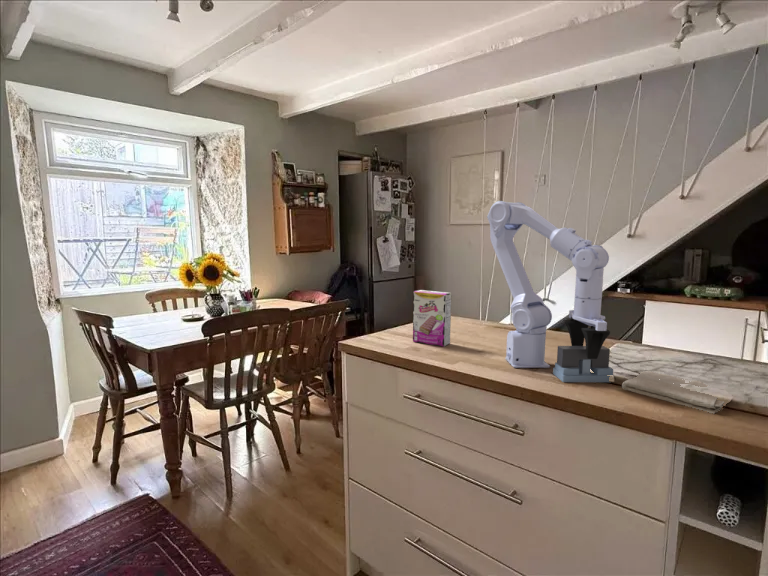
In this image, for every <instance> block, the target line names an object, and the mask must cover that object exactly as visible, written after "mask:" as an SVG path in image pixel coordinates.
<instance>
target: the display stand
mask: <svg viewBox="0 0 768 576" xmlns="http://www.w3.org/2000/svg"><path fill="white" fill-rule="evenodd" d="M590 365H591V360H579V368H562V367H560V366H559V365H558V364H557V361H556V362H555V363H554V367H553V368H552V374H553V375H554V376H555V377H556V378H557V379H559V381H561V382H562V383H610V382H609V377H610V376H607V375H614V368H613V367H611V366H609V368H591V367H590ZM590 369H591V370H592V371H593V372H594V373H591V372H590Z"/></svg>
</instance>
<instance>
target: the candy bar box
mask: <svg viewBox="0 0 768 576" xmlns="http://www.w3.org/2000/svg"><path fill="white" fill-rule="evenodd" d="M412 301H413V302H412V303H413V309H412V311H413V312H412V314H413V315H412V316H413V317H412V342H413V343H414V342H415V343H421V344H424V345H425V344H426V345H433V346H438V347H446V346H448V345H450V344H451V325H452V324H451V323H452V322H451V320H452V317H451V316H452V293H451V292H447V291H435V290H425V289H418V290H414V291H413V300H412Z"/></svg>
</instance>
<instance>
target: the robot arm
mask: <svg viewBox="0 0 768 576" xmlns="http://www.w3.org/2000/svg"><path fill="white" fill-rule="evenodd" d="M486 219H487V221H488V223H489V231H490V232H489V235H490V236H489V237H490V243H491V245H492V248H493V251H494V253H495V255H496V258H497V260H498V262H499V265H500V268H501V270H502V272H503V275H504V278H505V280H506V284H507V286H508V288H509V290H510V293H511V296H512V299H513V300H512V302H511V304H510V307H509V308H510V310H511V314H512V315H511V321H512V324H513V327H514V328H515V329H516V330H510V331H507V336H506V350H505V351H506V353H505V354H506V355H505V360H506V361H507V362H508V363H509V365H511V367H513V368H521V369H522V368H523V369H524V368H525V369H526V368H527V369H528V368H531V369H532V368H533V369H534V368H539V369H540V368H543V369H544V368H545V369H546V368H551V365H550V364H548V363H547V361H545V359H546V357H545V356H546V354H545V353H546V338H547V337H546V336H547V329H548V328H547V326H549V325H550V324H551V322H552V319H553V314H552V310H551V309H550V308H549V307H548V306H547V305H546V304H545V302H544V301H543V299H542V297H540V296H539V295H538V294H537V293H536V292H535V291H534V289H533V287H532V284H531V281H530V279H529V277H528V274H527V272H526V269H525V267H524V265H523V262H522V260H521V257H520V254H519V253H518V250H517V247H516V245H515V243H514V238H515V235H516V234H517V233H518V231H519V230H520V229H521V227H522V226H524V225H526V226H527V227H529V228H531V229H532V230H533V231H535V232H537V233H538V234H539V235H541V236H543V237H545V238H547V239H548V240H549V244H550V248H552V249H554V250H555V251H556V252H558V253H559V254H561V255H562V256H564V257H565V258H567V259H568V260H569V261H571V264H572V266H573V267H574V269H575V272H576V273H575V284H574V285H575V290H574V302H573V306H574V307H573V310H571V309H569V310H568V311H569V313H568V319H567V320H566V319H565V320H564V324H565V326H566V328H567V332H568V334H569V339H570V344H571V345H570V346H584V345H585V346H586V356H587V358H588V359H597V358H598V355H599V352H600V350H601V347H602V346H604V345H603V344H604V342H605V341H606V340H607V338H608V337H609V335H610V334H611V331H610V330H608V328H607V326H608V322H607V321H605V320H606V316H605V315H602V314H601V312H602V311H601V310H602V302H603V301H602V299H603V298H602V297H603V287H604V270H605V269H604V268H606V266H607V265H608V263H609V260H610V255H609V253H608V251H607V250H606V248H604V247H603V246H602V245H599V244H596V245H595V244H594V245H593V244H592V243H593V241H592V240H590V239H585V238H584V237H582V236H581V235H578V233H576V231H577V229H575V228H573V227H569V228H568V227H561V228H559V227H557V226H555V225H554V224H553V223H552V222H550V221H549V220H548V219H546V218H545V217H544V216H542V215H541V214H539V213H538V212H537V211H535V210H534V209H533V208H532V207H531V206H528V205H526V204H525V203H523V202H519V201H517V202H509V201H503V200H498V201H495V202H494V203H492V205H491V206H490V209H489V211H488V213H487V216H486ZM584 342H585V344H584Z"/></svg>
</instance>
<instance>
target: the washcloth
mask: <svg viewBox="0 0 768 576" xmlns="http://www.w3.org/2000/svg"><path fill="white" fill-rule="evenodd" d="M639 373H640V372H639ZM639 373H638V374H639ZM636 376H637V375H636ZM630 378H631V379H630ZM630 378H628V379H626V380H624V381H623V382H622V384H621V388H622V389H623V390H625V391H628V392H633V393H635V394H640V395H642V396H647V397H651V398H654V399H659V400H662V401H665V402H670V403H673V404H676V405H681V406H684V405H685V407H687V406H688V408H691V407H692V408H691V409H694V408H696V409H695V410H698V409H699V410H698V411H701V410H703V411H702V412H704V411H707V412H706V413H708V412H709V413H708V414H712V413H713V414H712V415H715V413H719V412H718V411H720V410H721V409H722V407H723V406H724V405H723V404H724V403H725V402H724V401H720V400H717V399H718V398H717V397H714V396H712V395H709V394H705V393H700V392H697V391H690V389H686V388H683V387H680V386H681V385H680V384H691V385H695V386H698V387H699V386H700V387H707V386H708V384H705V383H703V381H700V380H692V381H691V382H690V381H689V383H685V380H688V379H686V378H682V377H679V376H678V377H677V376H675V375H671V374H666V373H659V372H655V371H652V370H643V372H642V371H641V373H640V374H639V375H638V376H637V378H636V377H635V376H634V378H633V377H630ZM632 378H633V379H632ZM659 379H660V380H659ZM682 379H683V380H682ZM684 379H685V380H684ZM673 383H674V384H673ZM722 410H723V409H722ZM722 410H721V411H722ZM721 411H720V412H721Z"/></svg>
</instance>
